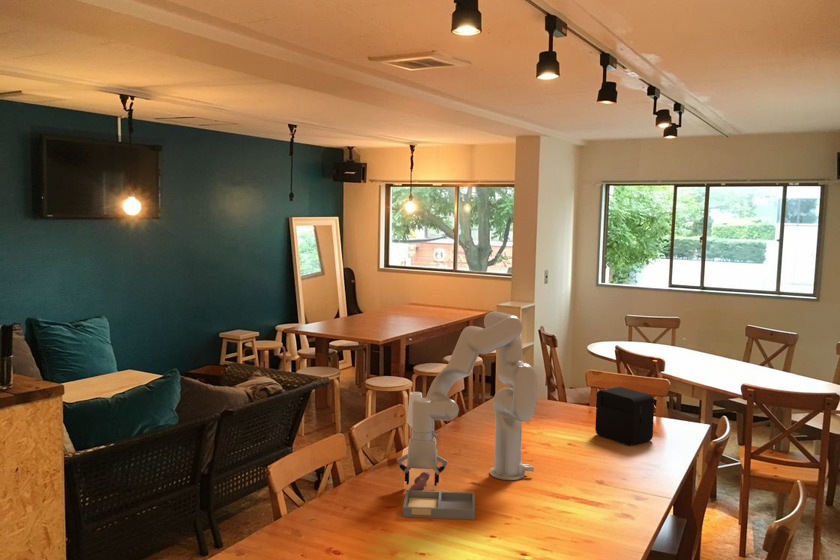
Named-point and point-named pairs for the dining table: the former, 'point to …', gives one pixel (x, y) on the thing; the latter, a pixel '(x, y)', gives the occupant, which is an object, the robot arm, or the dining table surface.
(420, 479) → the purple-brown lumpy piece
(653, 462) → the dining table surface
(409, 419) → the champagne flute
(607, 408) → the air purifier
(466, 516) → the tray
